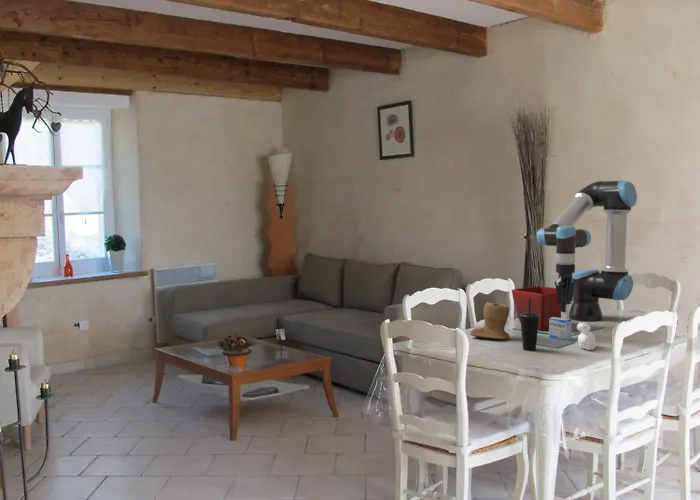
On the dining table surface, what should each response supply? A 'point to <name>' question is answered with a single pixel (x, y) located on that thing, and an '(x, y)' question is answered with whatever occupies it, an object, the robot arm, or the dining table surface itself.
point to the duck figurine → (586, 337)
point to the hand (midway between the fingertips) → (564, 319)
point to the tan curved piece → (493, 322)
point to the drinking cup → (529, 329)
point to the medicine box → (560, 328)
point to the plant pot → (538, 303)
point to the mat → (552, 342)
